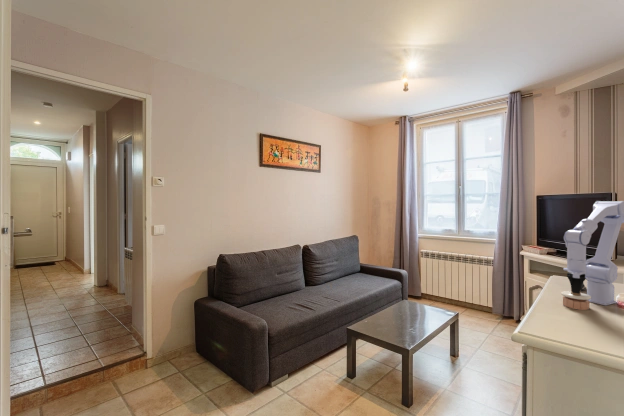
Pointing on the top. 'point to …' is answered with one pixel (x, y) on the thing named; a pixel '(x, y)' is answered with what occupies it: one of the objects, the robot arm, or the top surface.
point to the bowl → (576, 303)
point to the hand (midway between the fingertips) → (575, 292)
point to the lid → (576, 295)
